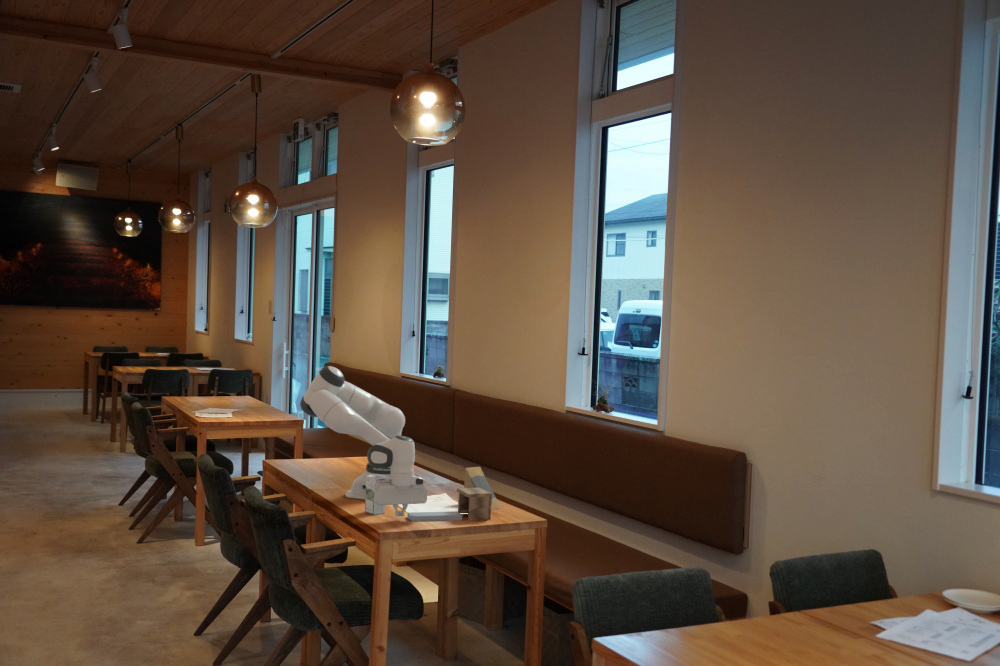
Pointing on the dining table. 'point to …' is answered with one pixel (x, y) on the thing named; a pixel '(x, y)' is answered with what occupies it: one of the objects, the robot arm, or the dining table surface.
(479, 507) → the open wooden box
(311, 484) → the dining table surface
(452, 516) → the panel
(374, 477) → the syrup box
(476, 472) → the sandwich container
